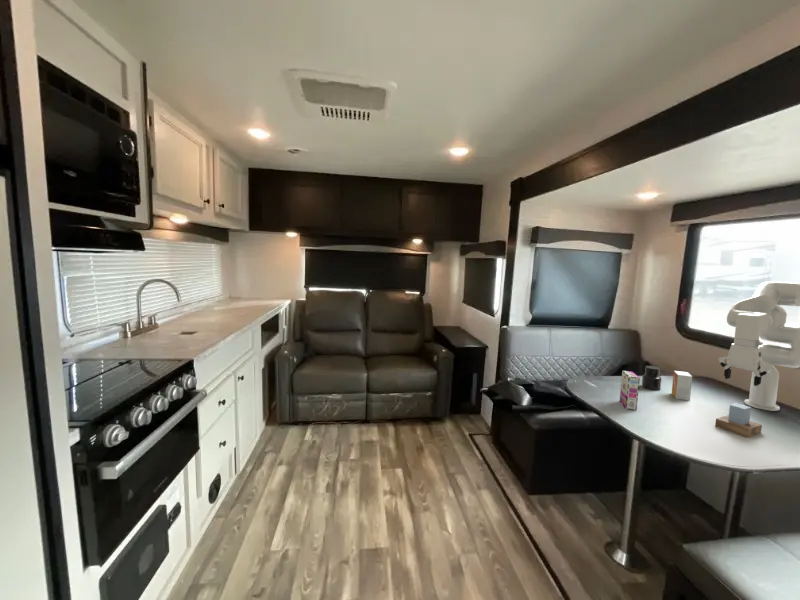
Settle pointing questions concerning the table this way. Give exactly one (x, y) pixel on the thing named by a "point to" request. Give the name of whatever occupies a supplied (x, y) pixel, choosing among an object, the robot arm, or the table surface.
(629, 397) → the candy bar box
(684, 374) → the small box
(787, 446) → the table surface
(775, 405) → the robot arm
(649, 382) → the ink bottle
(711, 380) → the table surface
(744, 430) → the walnut block
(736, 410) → the slate block
